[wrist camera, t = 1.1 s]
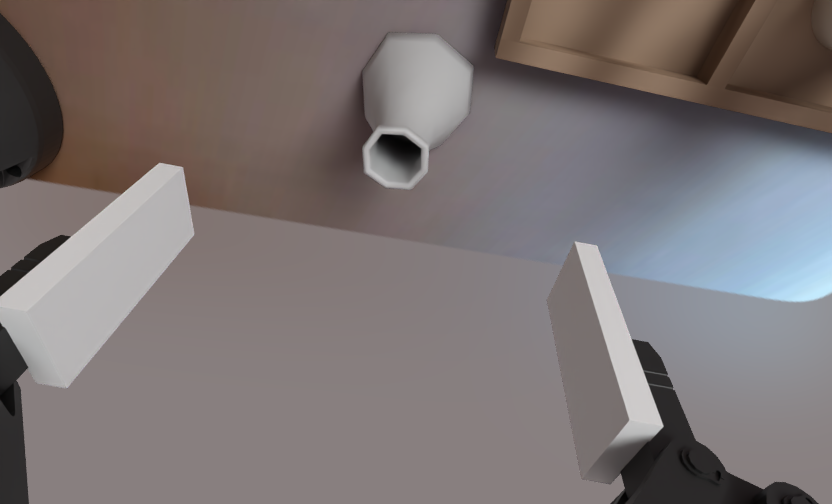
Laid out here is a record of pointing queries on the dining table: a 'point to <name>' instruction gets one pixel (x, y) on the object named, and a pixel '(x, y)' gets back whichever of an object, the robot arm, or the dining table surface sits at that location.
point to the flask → (412, 105)
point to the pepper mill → (822, 22)
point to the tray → (683, 51)
